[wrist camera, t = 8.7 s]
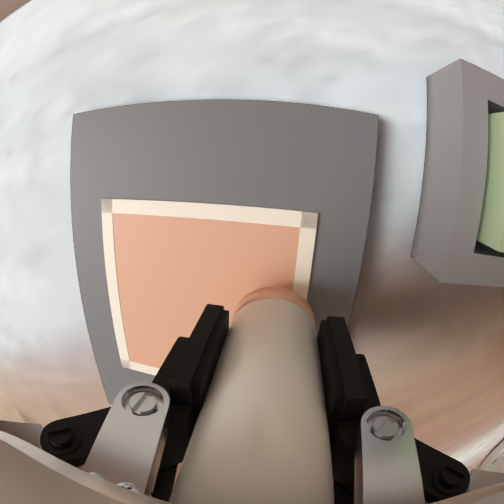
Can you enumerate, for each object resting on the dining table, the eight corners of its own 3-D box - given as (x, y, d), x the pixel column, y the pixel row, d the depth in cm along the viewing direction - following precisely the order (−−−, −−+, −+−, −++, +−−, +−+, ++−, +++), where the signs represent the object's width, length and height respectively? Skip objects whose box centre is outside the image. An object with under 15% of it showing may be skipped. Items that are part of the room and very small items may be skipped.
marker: (323, 288, 11) (376, 596, 1) (309, 360, 12) (313, 604, 2) (232, 279, 11) (105, 569, 1) (229, 352, 12) (156, 586, 2)
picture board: (372, 117, 10) (379, 114, 9) (311, 431, 15) (312, 442, 14) (83, 115, 11) (71, 114, 10) (113, 395, 16) (107, 404, 15)
